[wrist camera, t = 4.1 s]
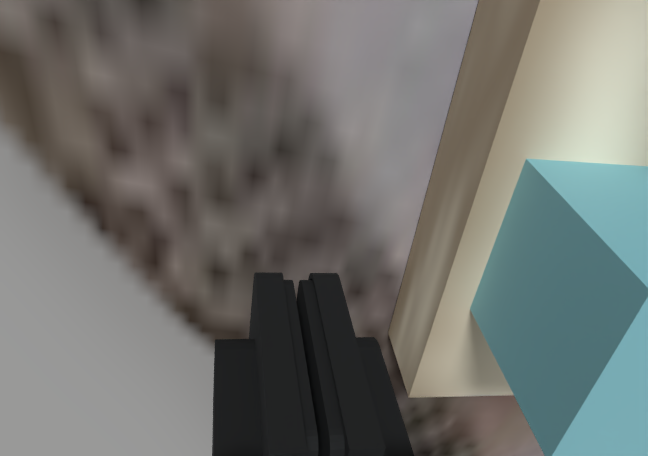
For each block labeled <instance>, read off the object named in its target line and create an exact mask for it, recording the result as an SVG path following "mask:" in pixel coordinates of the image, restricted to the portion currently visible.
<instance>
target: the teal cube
mask: <svg viewBox="0 0 648 456" xmlns="http://www.w3.org/2000/svg"><path fill="white" fill-rule="evenodd" d="M470 310H471V312H472V314H473V316H474V318H475V320H476V322H477V324H478V326H479V328H480V330H481V332H482V334H483V335H484V337H485V339H486V341H487V343H488V345H489V347H490V349H491V351H492V353H493V355H494V357H495V359H496V361H497V363H498V365H499V367H500V369H501V371H502V373H503V375H504V377H505V379H506V380H507V382H508V384H509V386H510V388H511V390H512V392H513V394H514V396H515V398H516V400H517V402H518V404H519V406H520V408H521V410H522V412H523V414H524V416H525V418H526V420H527V422H528V424H529V425H530V427H531V429H532V431H533V433H534V435H535V437H536V439H537V441H538V443H539V445H540V447H541V449H542V451H543V453H544V455H545V456H648V166H635V165H619V164H603V163H588V162H572V161H556V160H541V159H526V160H525V163H524V165H523V168H522V171H521V173H520V176H519V179H518V181H517V184H516V187H515V189H514V192H513V195H512V197H511V200H510V203H509V206H508V208H507V211H506V214H505V216H504V219H503V222H502V224H501V227H500V230H499V232H498V235H497V238H496V240H495V243H494V246H493V248H492V251H491V254H490V256H489V259H488V262H487V264H486V267H485V270H484V272H483V275H482V278H481V280H480V283H479V286H478V288H477V291H476V294H475V296H474V299H473V302H472V305H471V307H470Z"/></svg>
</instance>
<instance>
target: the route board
mask: <svg viewBox="0 0 648 456" xmlns="http://www.w3.org/2000/svg"><path fill="white" fill-rule="evenodd" d="M526 159H541V160H556V161H572V162H588V163H603V164H619V165H635V166H648V0H479V2H478V6H477V10H476V13H475V17H474V21H473V24H472V28H471V32H470V35H469V39H468V43H467V46H466V50H465V54H464V57H463V61H462V65H461V68H460V72H459V76H458V79H457V83H456V87H455V90H454V94H453V98H452V101H451V105H450V109H449V112H448V116H447V120H446V123H445V127H444V131H443V134H442V138H441V142H440V145H439V149H438V153H437V156H436V160H435V164H434V167H433V171H432V175H431V178H430V182H429V186H428V189H427V193H426V197H425V200H424V204H423V208H422V211H421V215H420V219H419V222H418V226H417V230H416V233H415V237H414V241H413V244H412V248H411V252H410V255H409V259H408V263H407V266H406V270H405V274H404V277H403V281H402V285H401V288H400V292H399V296H398V299H397V303H396V307H395V310H394V314H393V318H392V321H391V325H390V329H389V332H388V334H389V337H390V340H391V343H392V346H393V350H394V353H395V356H396V359H397V362H398V365H399V369H400V372H401V375H402V378H403V381H404V384H405V387H406V391H407V394H408V397H409V398H413V397H456V396H500V395H514V394H513V392H512V390H511V388H510V386H509V384H508V382H507V380H506V379H505V377H504V375H503V373H502V371H501V369H500V367H499V365H498V363H497V361H496V359H495V357H494V355H493V353H492V351H491V349H490V347H489V345H488V343H487V341H486V339H485V337H484V335H483V334H482V332H481V330H480V328H479V326H478V324H477V322H476V320H475V318H474V316H473V314H472V312H471V310H470V307H471V305H472V302H473V299H474V296H475V294H476V291H477V288H478V286H479V283H480V280H481V278H482V275H483V272H484V270H485V267H486V264H487V262H488V259H489V256H490V254H491V251H492V248H493V246H494V243H495V240H496V238H497V235H498V232H499V230H500V227H501V224H502V222H503V219H504V216H505V214H506V211H507V208H508V206H509V203H510V200H511V197H512V195H513V192H514V189H515V187H516V184H517V181H518V179H519V176H520V173H521V171H522V168H523V165H524V163H525V160H526Z"/></svg>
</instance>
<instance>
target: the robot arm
mask: <svg viewBox="0 0 648 456" xmlns="http://www.w3.org/2000/svg"><path fill="white" fill-rule="evenodd" d="M212 456H414V454H413V451H412V448H411V444H410V441H409V438H408V435H407V432H406V429H405V425H404V422H403V419H402V416H401V413H400V410H399V406H398V403H397V400H396V397H395V394H394V391H393V387H392V384H391V381H390V378H389V375H388V372H387V368H386V365H385V362H384V359H383V356H382V353H381V349H380V346H379V344H378V342H377V340H376V339H375V338H374V337H363V338H356V337H355V333H354V329H353V326H352V322H351V318H350V315H349V311H348V307H347V304H346V300H345V296H344V293H343V289H342V285H341V282H340V278H339V275H338V274H337V273H311V274H310V275H309V279H308V280H300V282H299V287H298V294H297V301H296V297H295V290H294V284H293V281H292V280H283V274H282V273H255V274H254V282H253V295H252V307H251V320H250V333H249V339H225V340H215V358H214V397H213V447H212Z"/></svg>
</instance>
